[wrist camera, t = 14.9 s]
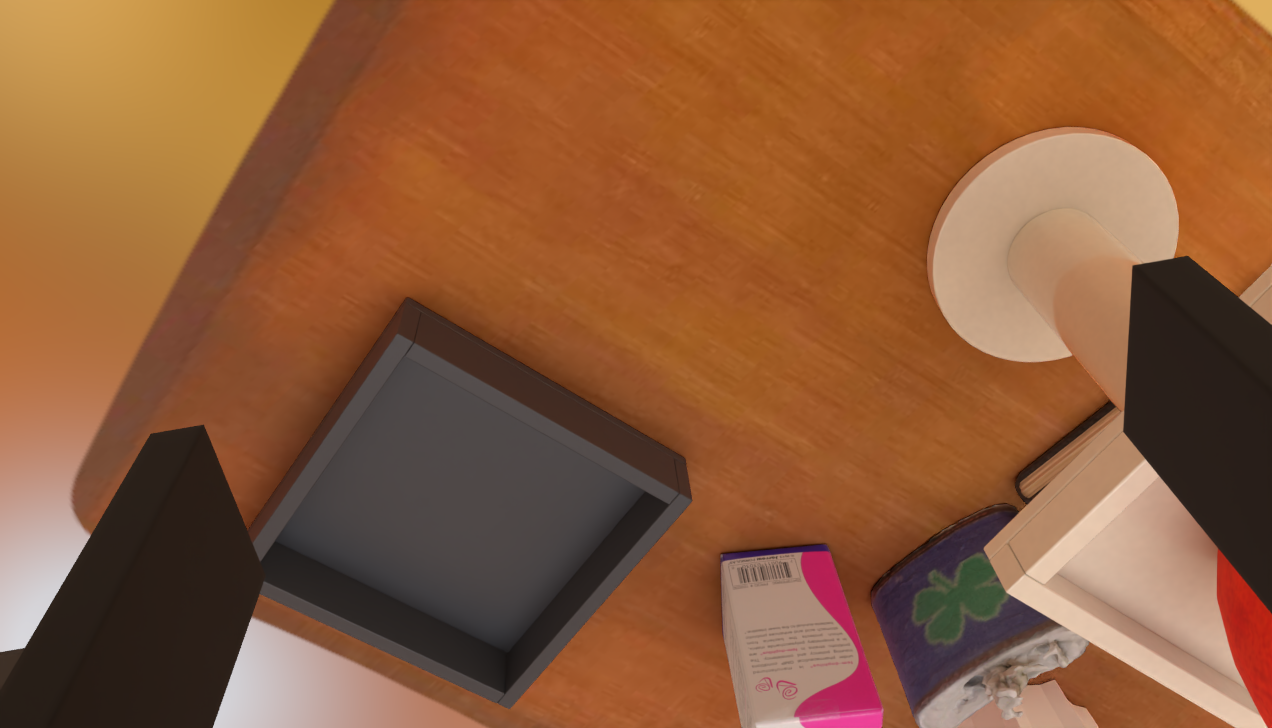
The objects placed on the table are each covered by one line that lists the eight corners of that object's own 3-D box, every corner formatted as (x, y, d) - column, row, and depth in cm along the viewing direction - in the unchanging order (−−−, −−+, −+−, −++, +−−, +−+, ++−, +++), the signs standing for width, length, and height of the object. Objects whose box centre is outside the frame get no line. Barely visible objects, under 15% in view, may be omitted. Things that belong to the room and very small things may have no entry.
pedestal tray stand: (842, 282, 52) (1005, 593, 33) (1048, 39, 47) (1377, 239, 28) (1046, 418, 56) (1293, 762, 37) (1253, 208, 51) (1659, 481, 32)
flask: (885, 617, 61) (944, 774, 52) (855, 586, 60) (909, 740, 51) (1032, 524, 59) (1122, 671, 50) (1003, 489, 58) (1090, 633, 48)
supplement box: (722, 638, 62) (753, 813, 51) (718, 551, 59) (751, 719, 49) (828, 628, 62) (880, 801, 52) (830, 541, 59) (885, 706, 49)
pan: (245, 532, 56) (227, 579, 53) (407, 296, 51) (397, 333, 48) (512, 660, 61) (510, 710, 58) (685, 458, 56) (693, 501, 53)
